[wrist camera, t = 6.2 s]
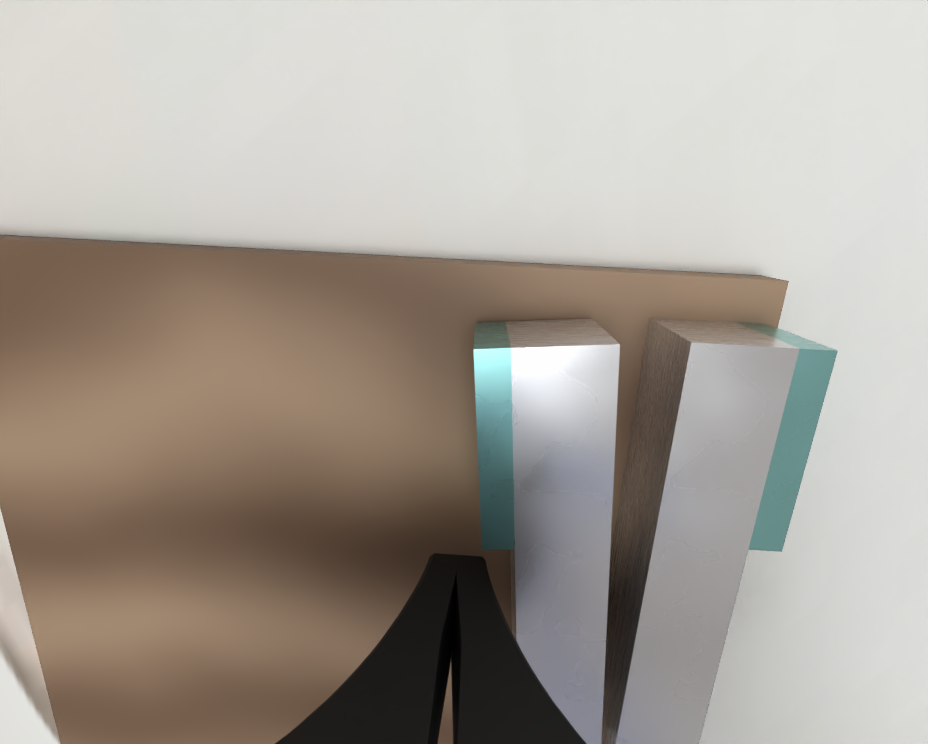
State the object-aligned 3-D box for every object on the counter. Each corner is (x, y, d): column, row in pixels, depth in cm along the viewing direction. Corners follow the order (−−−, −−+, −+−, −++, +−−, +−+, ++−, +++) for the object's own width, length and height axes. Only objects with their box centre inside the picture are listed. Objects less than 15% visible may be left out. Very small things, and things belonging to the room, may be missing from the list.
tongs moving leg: (579, 739, 15) (597, 834, 13) (491, 738, 16) (493, 833, 13) (592, 318, 12) (620, 344, 9) (475, 322, 12) (473, 348, 9)
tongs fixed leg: (657, 792, 16) (694, 915, 13) (543, 784, 16) (555, 904, 13) (765, 323, 12) (856, 357, 9) (606, 315, 12) (645, 346, 9)
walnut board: (651, 765, 18) (663, 803, 16) (91, 724, 18) (64, 758, 17) (760, 275, 13) (788, 281, 11) (-21, 233, 13) (-69, 235, 12)
